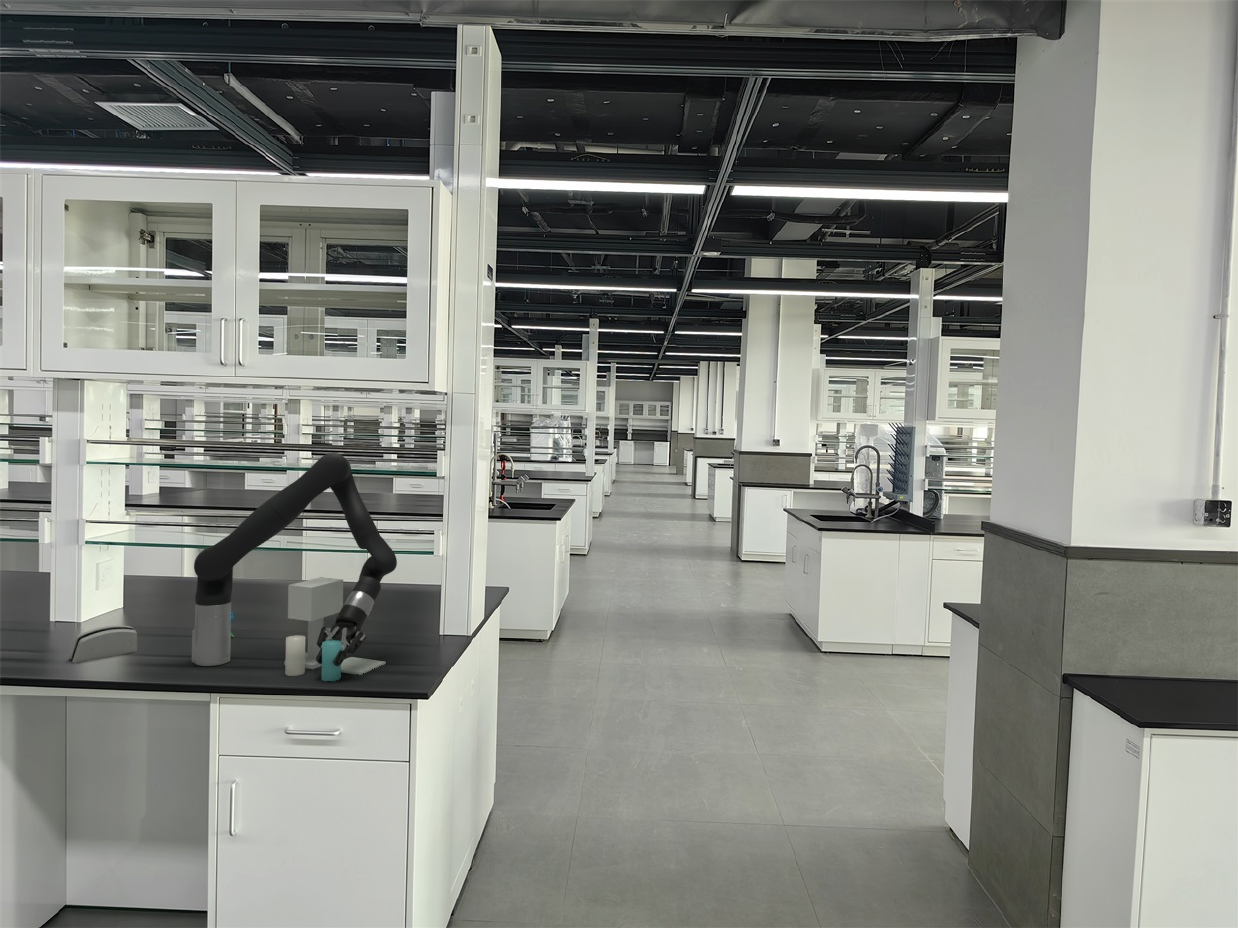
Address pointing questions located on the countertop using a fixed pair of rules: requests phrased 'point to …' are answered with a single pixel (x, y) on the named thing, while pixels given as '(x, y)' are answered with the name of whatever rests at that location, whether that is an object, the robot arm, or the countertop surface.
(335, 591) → the mounted unit
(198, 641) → the robot arm
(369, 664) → the mat
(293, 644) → the cream part
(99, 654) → the grey curved piece
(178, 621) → the countertop surface
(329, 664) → the teal part
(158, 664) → the countertop surface
